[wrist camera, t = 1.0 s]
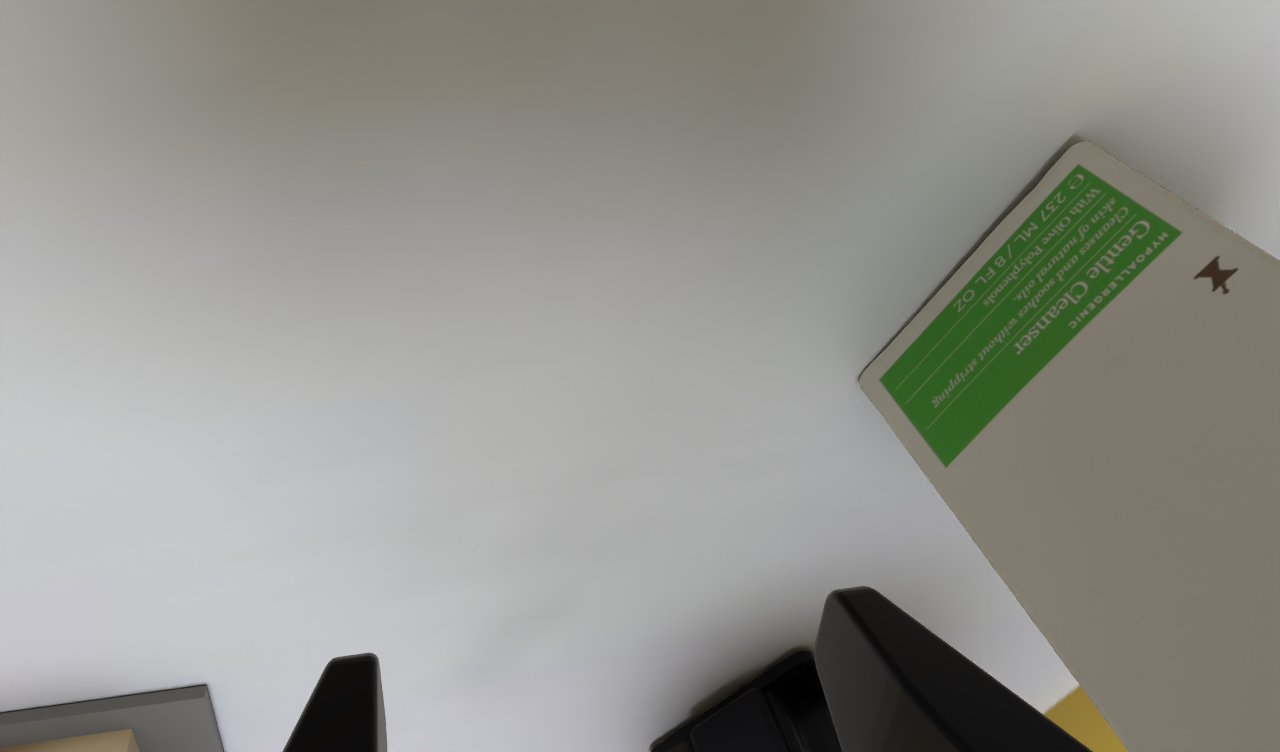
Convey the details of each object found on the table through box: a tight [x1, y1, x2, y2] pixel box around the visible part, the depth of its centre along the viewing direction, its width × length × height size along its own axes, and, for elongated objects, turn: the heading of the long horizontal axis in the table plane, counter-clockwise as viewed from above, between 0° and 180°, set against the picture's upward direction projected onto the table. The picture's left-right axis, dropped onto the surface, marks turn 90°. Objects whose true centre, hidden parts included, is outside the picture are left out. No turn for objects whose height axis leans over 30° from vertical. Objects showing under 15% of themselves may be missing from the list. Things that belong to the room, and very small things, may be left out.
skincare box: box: [859, 141, 1280, 752], centre depth 20 cm, size 8×7×16 cm
